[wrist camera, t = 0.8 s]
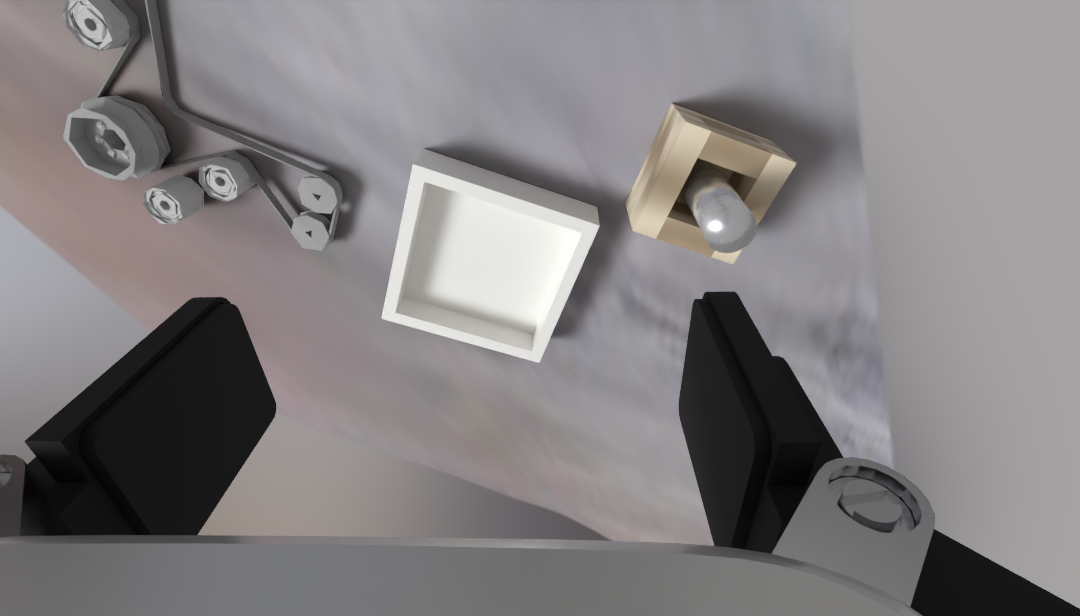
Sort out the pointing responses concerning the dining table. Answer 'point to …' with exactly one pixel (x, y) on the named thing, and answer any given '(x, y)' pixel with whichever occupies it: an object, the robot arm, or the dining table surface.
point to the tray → (485, 256)
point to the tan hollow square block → (670, 160)
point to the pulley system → (141, 144)
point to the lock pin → (718, 208)
